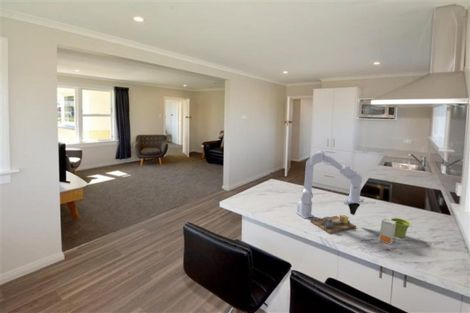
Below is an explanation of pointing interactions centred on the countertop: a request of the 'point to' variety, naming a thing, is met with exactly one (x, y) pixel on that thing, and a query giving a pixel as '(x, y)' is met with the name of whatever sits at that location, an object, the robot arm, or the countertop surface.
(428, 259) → the countertop surface
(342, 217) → the leg
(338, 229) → the board
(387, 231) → the skincare box
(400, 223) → the plant pot
